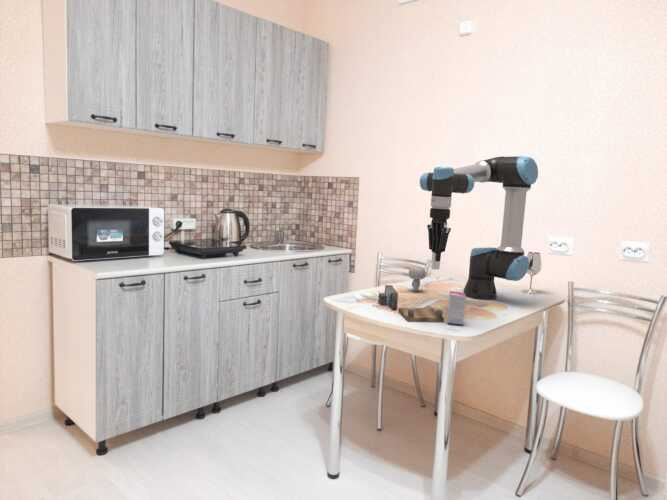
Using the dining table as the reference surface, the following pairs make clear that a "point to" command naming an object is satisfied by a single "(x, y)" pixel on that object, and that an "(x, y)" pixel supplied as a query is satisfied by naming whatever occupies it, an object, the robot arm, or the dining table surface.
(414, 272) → the figurine
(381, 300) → the stop block
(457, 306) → the supplement box
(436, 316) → the cabinet door
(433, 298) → the dining table surface
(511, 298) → the dining table surface
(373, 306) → the dining table surface
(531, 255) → the wineglass
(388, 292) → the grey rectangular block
